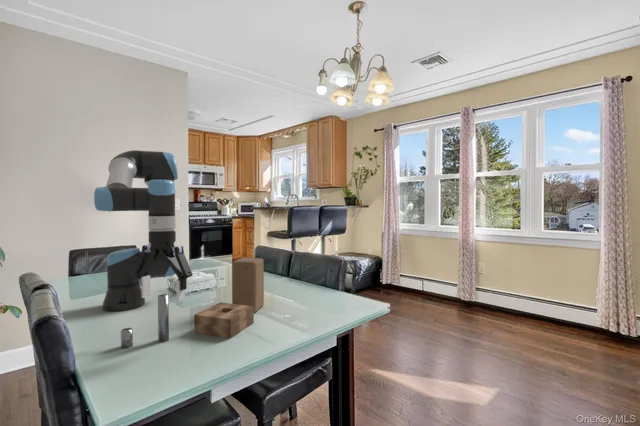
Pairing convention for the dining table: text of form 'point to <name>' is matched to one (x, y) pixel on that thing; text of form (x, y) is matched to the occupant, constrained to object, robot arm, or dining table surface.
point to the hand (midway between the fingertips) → (163, 298)
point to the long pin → (163, 318)
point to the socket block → (224, 320)
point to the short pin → (126, 338)
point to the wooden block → (248, 282)
